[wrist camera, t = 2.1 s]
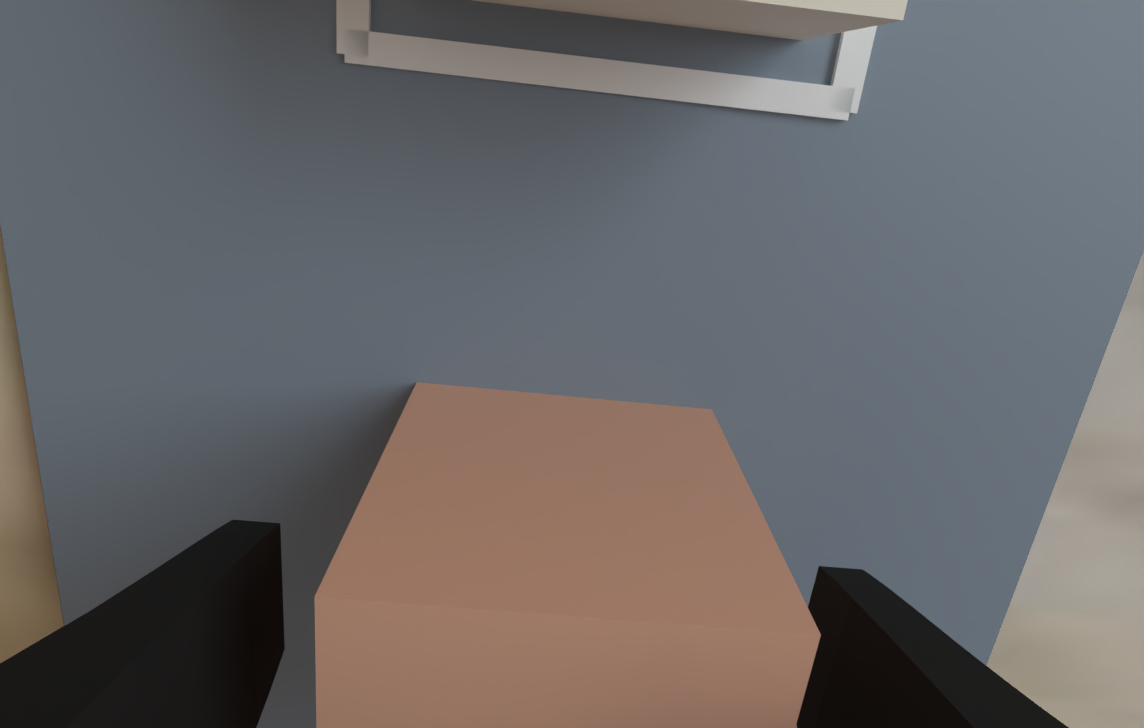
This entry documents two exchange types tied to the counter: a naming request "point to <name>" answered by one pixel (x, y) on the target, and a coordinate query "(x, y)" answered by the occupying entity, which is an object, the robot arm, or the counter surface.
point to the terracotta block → (558, 575)
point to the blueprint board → (567, 260)
